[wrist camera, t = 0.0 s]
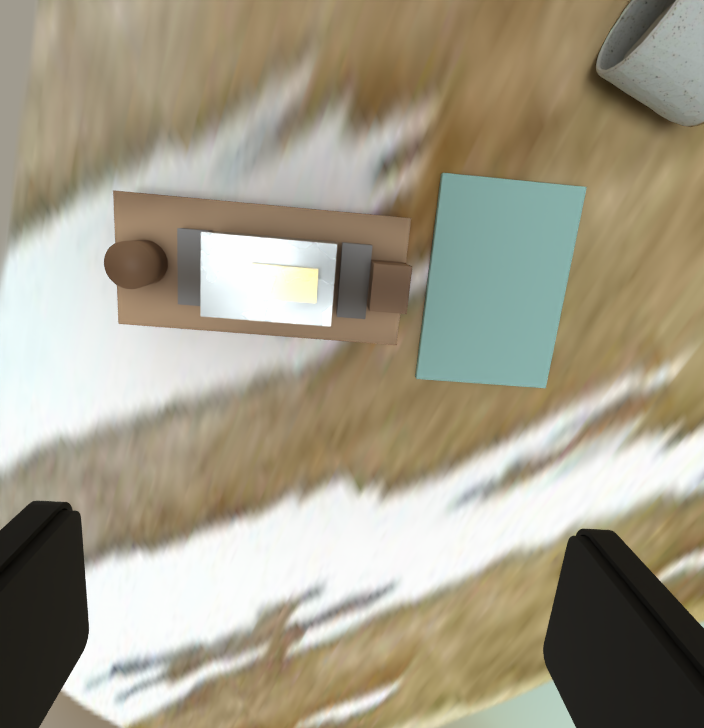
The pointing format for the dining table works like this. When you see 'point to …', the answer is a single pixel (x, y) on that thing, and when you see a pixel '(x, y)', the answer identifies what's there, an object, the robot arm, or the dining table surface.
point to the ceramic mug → (659, 57)
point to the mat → (497, 279)
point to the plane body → (193, 215)
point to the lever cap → (267, 278)
